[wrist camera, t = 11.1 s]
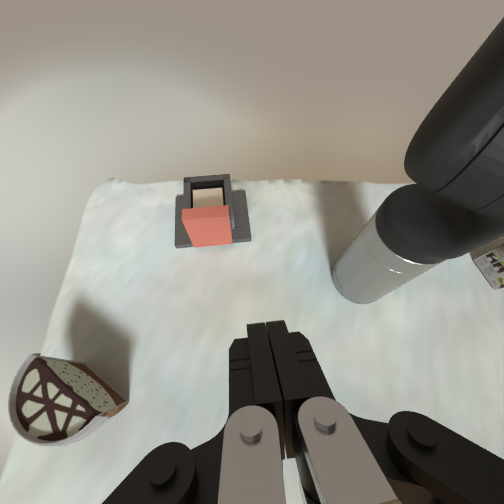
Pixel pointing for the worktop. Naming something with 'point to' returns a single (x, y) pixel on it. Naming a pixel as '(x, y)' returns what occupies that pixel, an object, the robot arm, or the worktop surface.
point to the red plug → (208, 219)
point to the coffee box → (492, 266)
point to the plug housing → (232, 199)
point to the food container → (60, 401)
